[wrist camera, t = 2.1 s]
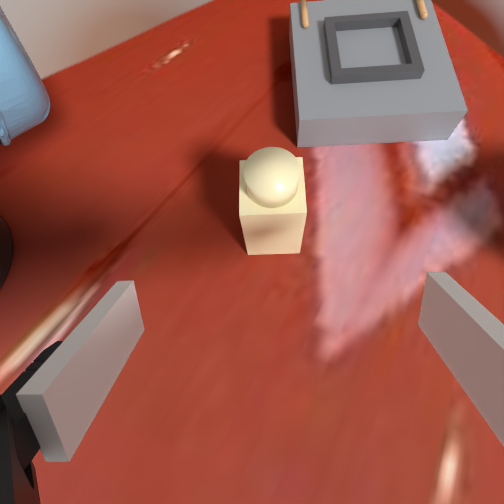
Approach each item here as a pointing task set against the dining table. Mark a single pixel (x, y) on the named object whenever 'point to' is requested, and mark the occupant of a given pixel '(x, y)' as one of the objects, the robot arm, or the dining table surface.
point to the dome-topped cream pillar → (272, 201)
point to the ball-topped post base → (371, 73)
